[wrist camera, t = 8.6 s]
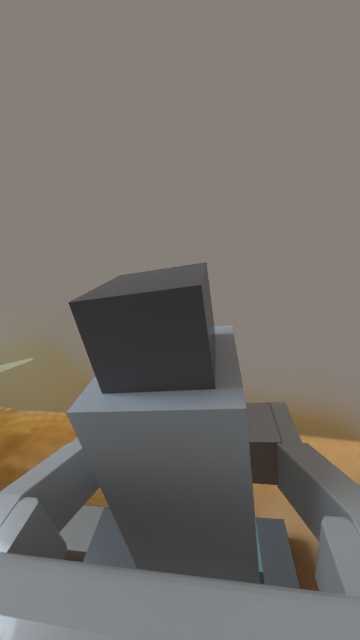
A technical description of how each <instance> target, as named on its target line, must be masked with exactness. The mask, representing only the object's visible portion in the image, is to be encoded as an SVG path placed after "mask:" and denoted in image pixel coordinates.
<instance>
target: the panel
mask: <svg viewBox="0 0 360 640" xmlns="http://www.w3.org/2000/svg"><path fill="white" fill-rule="evenodd" d="M255 525H256V538H257V551H258V565H259V578H260V584H264V585H273V586H281V587H289V588H297V589H300V586H299V582H298V578H297V573H296V569H295V565H294V561H293V556H292V552H291V548H290V544H289V539H288V535H287V531H286V527H285V523H284V519H269V518H255ZM59 533H60V535H61V536H62V538H63V539H64V541H65V543H66V544H67V551H66V554H65V556H64V558H63V560H69V561H78V562H86V563H94V564H102V565H110V566H118V567H126V568H135V569H137V567H136V565H135V562H134V560H133V558H132V556H131V554H130V551H129V549H128V547H127V545H126V543H125V540H124V538H123V536H122V534H121V532H120V529H119V527H118V525H117V523H116V521H115V519H114V516H113V514H112V512H111V510H110V508H109V507H98V506H82V508H81V509H80V510H79V511H78V512H77V513H76V514H75V515H74V517H73V518H72V519H71V520H70V521H69V522H68V523H67V524H66V526H65V527H64V528H63V529H62V530H61V531H60V532H59Z"/></svg>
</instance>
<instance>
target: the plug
mask: <svg viewBox="0 0 360 640" xmlns="http://www.w3.org/2000/svg"><path fill="white" fill-rule="evenodd" d="M69 305H70V308H71V310H72V313H73V316H74V318H75V321H76V324H77V327H78V330H79V332H80V335H81V338H82V340H83V343H84V346H85V348H86V351H87V354H88V357H89V359H90V362H91V365H92V368H93V371H94V373H95V377H94V378H93V380H92V381H91V382H90V384H89V385H88V386H87V387H86V388H85V390H84V391H83V392H82V393H81V395H80V396H79V397H78V399H77V400H76V401H75V402H74V404H73V405H72V406H71V407H70V409H69V410H68V411H67V412H66V413H67V416H68V418H69V420H70V422H71V424H72V426H73V429H74V431H75V433H76V435H77V437H78V440H79V442H80V444H81V446H82V448H83V451H84V453H85V455H86V457H87V459H88V462H89V464H90V466H91V468H92V470H93V472H94V475H95V477H96V479H97V481H98V483H99V486H100V488H101V490H102V492H103V494H104V497H105V499H106V501H107V503H108V505H109V508H110V510H111V512H112V514H113V516H114V519H115V521H116V523H117V525H118V527H119V529H120V532H121V534H122V536H123V538H124V540H125V543H126V545H127V547H128V549H129V551H130V554H131V556H132V558H133V560H134V562H135V565H136V567H137V569H143V570H151V571H159V572H167V573H175V574H183V575H191V576H199V577H208V578H216V579H224V580H232V581H240V582H248V583H256V584H260V578H259V565H258V551H257V538H256V525H255V512H254V499H253V486H252V473H251V460H250V447H249V434H248V421H247V408H246V402H245V397H244V391H243V385H242V380H241V374H240V368H239V362H238V357H237V351H236V345H235V340H234V334H233V328H232V325H228V326H218V327H214V321H213V312H212V304H211V296H210V289H209V280H208V272H207V264H206V263H200V264H193V265H186V266H180V267H173V268H166V269H160V270H153V271H146V272H140V273H134V274H126V275H120V276H118V277H116V278H115V279H112V280H110V281H109V282H107V283H105V284H103V285H101V286H99V287H97V288H95V289H93V290H91V291H89V292H88V293H86V294H84V295H82V296H80V297H78V298H77V299H74V300H72V301H70V302H69Z"/></svg>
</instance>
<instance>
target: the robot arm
mask: <svg viewBox="0 0 360 640" xmlns="http://www.w3.org/2000/svg"><path fill="white" fill-rule="evenodd" d="M246 408H247V421H248V434H249V447H250V460H251V473H252V483H255V484H269V485H278V488H279V489H280V491H281V492H282V493H283V494H284V496H285V497H286V498H287V500H288V501H289V502H290V504H291V505H292V506H293V508H294V509H295V510H296V512H297V513H298V514H299V516H300V517H301V518H302V520H303V521H304V522H305V524H306V525H307V526H308V528H309V529H310V530H311V532H312V533H313V534H314V535H315V537H316V538H317V539H318V541H319V547H318V555H317V564H316V573H315V578H316V582H317V586H318V589H319V591H313V590H305V589H297V588H289V587H281V586H273V585H264V584H256V583H248V582H240V581H232V580H224V579H216V578H208V577H199V576H191V575H183V574H175V573H167V572H159V571H151V570H143V569H135V568H126V567H118V566H110V565H102V564H94V563H86V562H78V561H69V560H63V558H64V556H65V554H66V551H67V544H66V543H65V541H64V539H63V538H62V536H61V535H60V533H59V532H60V531H61V530H62V529H63V528H64V527H65V526H66V524H67V523H68V522H69V521H70V520H71V519H72V518H73V517H74V515H75V514H76V513H77V512H78V511H79V510H80V509H81V508H82V506H83V505H84V504H85V503H86V502H87V501H88V500H89V499H90V497H91V496H92V495H93V494H94V493H95V492H96V491H97V490H98V488H99V487H100V486H99V483H98V481H97V479H96V477H95V475H94V472H93V470H92V468H91V466H90V464H89V462H88V459H87V457H86V455H85V453H84V451H83V448H82V446H81V444H80V442H79V440H78V437H76V438H75V440H74V441H73V442H68V443H67V444H66V445H64V446H63V447H62V448H60V449H59V450H57V451H56V452H55V453H53V454H52V455H50V456H49V457H48V458H46V459H45V460H44V461H42V462H41V463H39V464H38V465H37V466H35V467H34V468H32V469H31V470H30V471H28V472H27V473H25V474H24V475H23V476H21V477H20V478H19V479H17V480H16V481H14V482H13V483H12V484H10V485H9V486H7V487H6V488H5V489H3V490H2V491H0V640H360V486H359V485H358V484H356V483H355V482H354V481H353V480H351V479H350V478H349V477H348V476H347V475H345V474H344V473H343V472H342V471H341V470H339V469H338V468H337V467H336V466H334V465H333V464H332V463H331V462H330V461H328V460H327V459H326V458H325V457H324V456H322V455H321V454H320V453H319V452H317V451H316V450H315V449H314V448H313V447H311V446H310V445H309V444H308V443H302V441H301V439H300V436H299V434H298V431H297V429H296V427H295V424H294V422H293V419H292V417H291V414H290V412H289V409H288V407H287V405H286V403H285V402H270V403H246Z"/></svg>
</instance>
